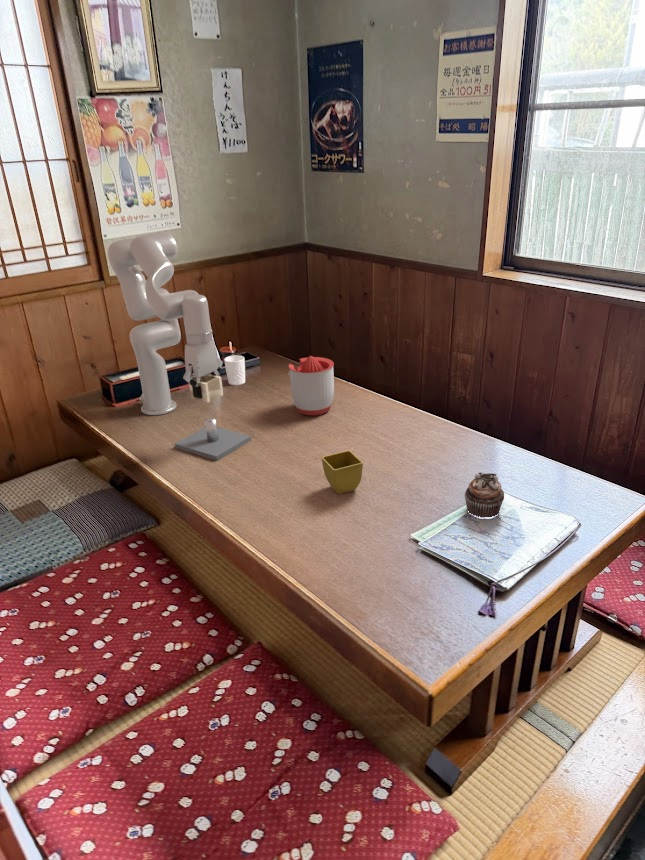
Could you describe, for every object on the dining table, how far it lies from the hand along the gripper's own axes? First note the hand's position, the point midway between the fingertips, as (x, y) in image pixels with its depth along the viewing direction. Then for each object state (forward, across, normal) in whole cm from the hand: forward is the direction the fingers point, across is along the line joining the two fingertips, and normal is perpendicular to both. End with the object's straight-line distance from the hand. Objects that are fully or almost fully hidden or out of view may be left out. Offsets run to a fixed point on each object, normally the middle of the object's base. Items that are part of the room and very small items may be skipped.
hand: (206, 392), depth 195 cm
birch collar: (+1, 0, 0) cm, 1 cm away
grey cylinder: (+16, 0, 0) cm, 16 cm away
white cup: (+18, -46, -30) cm, 58 cm away
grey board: (+18, 0, 0) cm, 18 cm away
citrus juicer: (+18, -38, +12) cm, 44 cm away
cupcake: (+18, -5, +88) cm, 90 cm away
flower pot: (+18, +3, +51) cm, 54 cm away
